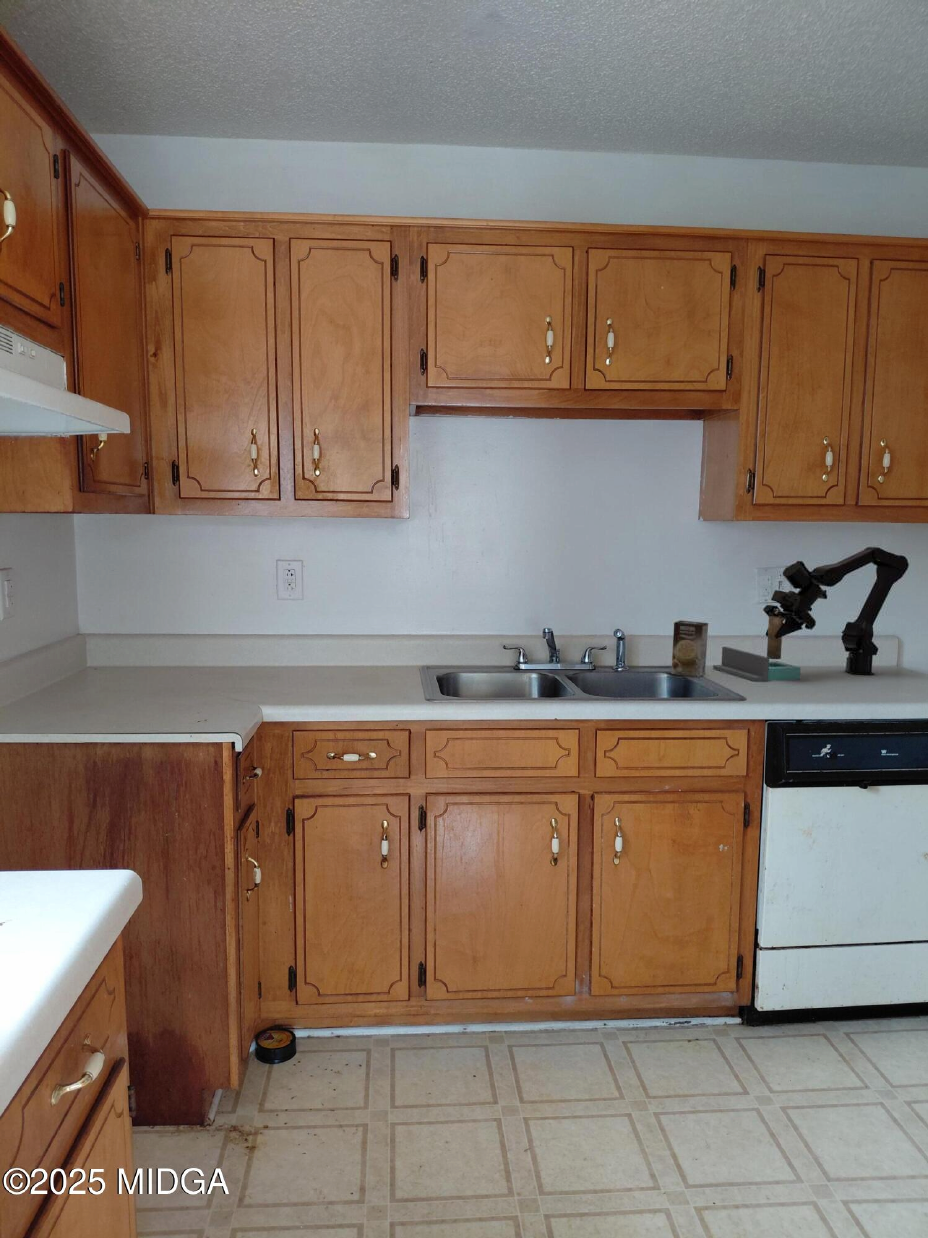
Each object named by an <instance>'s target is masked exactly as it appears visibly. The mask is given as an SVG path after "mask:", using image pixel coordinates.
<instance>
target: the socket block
mask: <svg viewBox="0 0 928 1238" xmlns="http://www.w3.org/2000/svg"><path fill="white" fill-rule="evenodd" d="M793 679H799V680H800V679H801V667H800V666H796V665H792V664H788V663H786V662H785V663H784V662H782V661H769V674H768V681H767V682H774V681H773V680H778V681H794V680H793Z"/></svg>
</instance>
